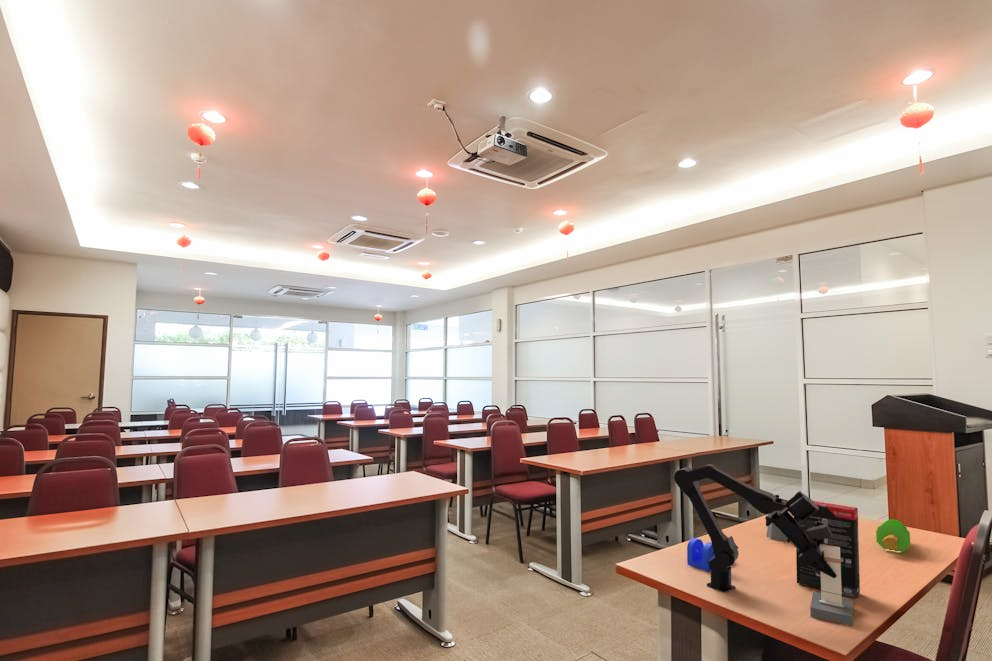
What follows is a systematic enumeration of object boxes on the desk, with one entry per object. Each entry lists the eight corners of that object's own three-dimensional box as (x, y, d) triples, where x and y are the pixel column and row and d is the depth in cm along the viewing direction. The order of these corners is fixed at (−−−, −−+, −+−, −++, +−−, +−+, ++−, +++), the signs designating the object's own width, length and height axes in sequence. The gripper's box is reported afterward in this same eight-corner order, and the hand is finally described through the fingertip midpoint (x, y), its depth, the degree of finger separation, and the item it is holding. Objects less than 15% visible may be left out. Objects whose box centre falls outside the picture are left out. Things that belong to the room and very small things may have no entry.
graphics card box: (861, 593, 168) (858, 505, 170) (858, 600, 163) (855, 509, 165) (801, 579, 179) (798, 496, 181) (796, 585, 174) (793, 500, 176)
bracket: (707, 572, 184) (707, 545, 185) (687, 564, 191) (687, 539, 192) (737, 563, 194) (737, 537, 195) (717, 556, 201) (716, 532, 202)
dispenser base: (810, 616, 151) (810, 604, 151) (813, 599, 162) (813, 588, 163) (852, 626, 145) (852, 613, 145) (852, 608, 157) (852, 596, 157)
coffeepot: (762, 539, 224) (761, 495, 225) (759, 533, 232) (758, 491, 234) (804, 543, 218) (802, 499, 220) (799, 537, 227) (798, 494, 229)
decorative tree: (880, 522, 207) (886, 506, 230) (868, 547, 209) (875, 529, 232) (915, 539, 200) (917, 520, 223) (902, 565, 202) (906, 544, 225)
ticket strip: (821, 603, 154) (819, 545, 156) (821, 601, 156) (819, 543, 158) (842, 608, 152) (840, 549, 153) (842, 605, 153) (840, 547, 155)
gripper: (811, 520, 150) (859, 569, 143) (815, 507, 166) (858, 551, 159) (780, 543, 154) (825, 591, 147) (787, 528, 170) (828, 572, 163)
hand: (835, 575), depth 154 cm, fingers open, 3 cm apart
